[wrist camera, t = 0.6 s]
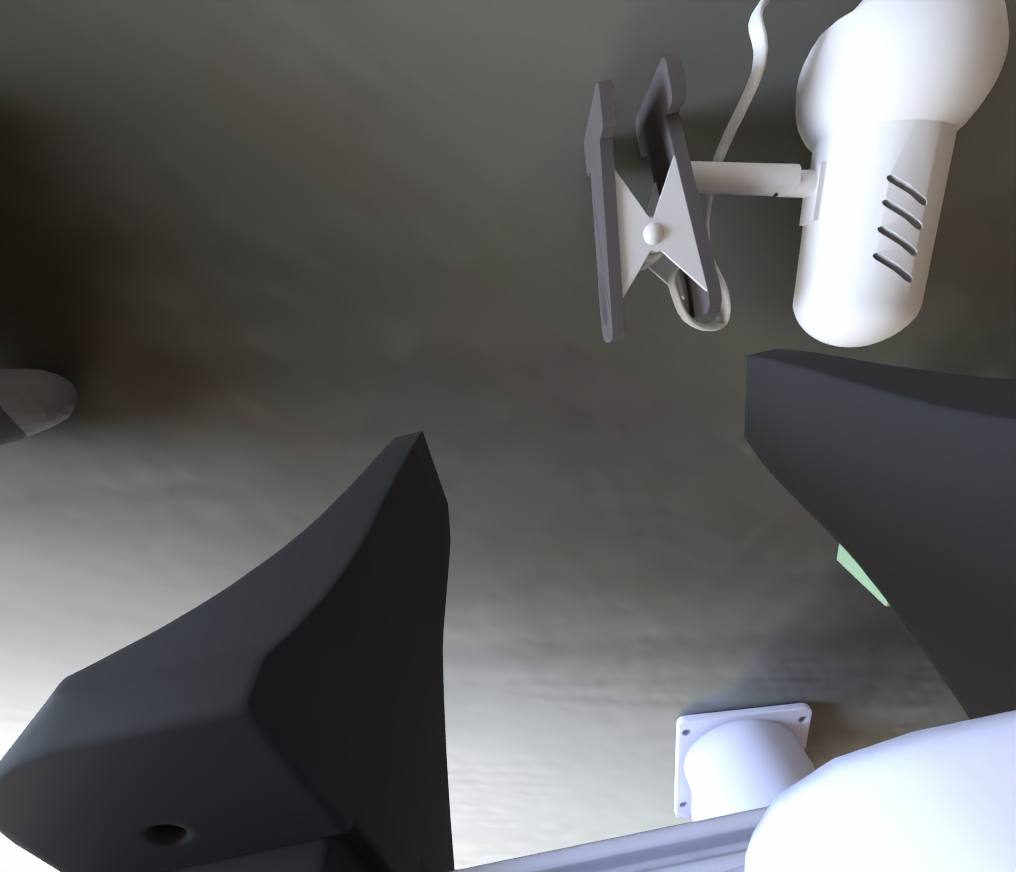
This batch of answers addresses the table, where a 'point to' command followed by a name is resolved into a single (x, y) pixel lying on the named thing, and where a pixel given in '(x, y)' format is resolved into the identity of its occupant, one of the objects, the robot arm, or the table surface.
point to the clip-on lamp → (826, 185)
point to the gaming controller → (32, 402)
